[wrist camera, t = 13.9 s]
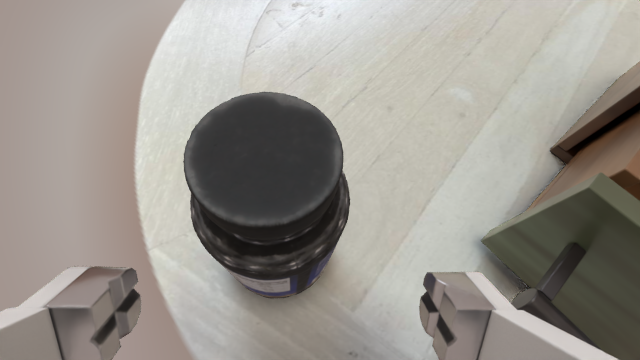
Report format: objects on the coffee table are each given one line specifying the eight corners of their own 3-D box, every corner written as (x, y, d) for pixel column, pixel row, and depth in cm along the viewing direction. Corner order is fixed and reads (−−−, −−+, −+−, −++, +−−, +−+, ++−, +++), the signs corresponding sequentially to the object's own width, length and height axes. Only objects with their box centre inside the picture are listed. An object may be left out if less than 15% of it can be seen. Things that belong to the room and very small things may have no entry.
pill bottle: (299, 186, 21) (306, 53, 11) (347, 265, 18) (411, 186, 9) (212, 229, 19) (127, 113, 9) (255, 322, 17) (203, 303, 7)
